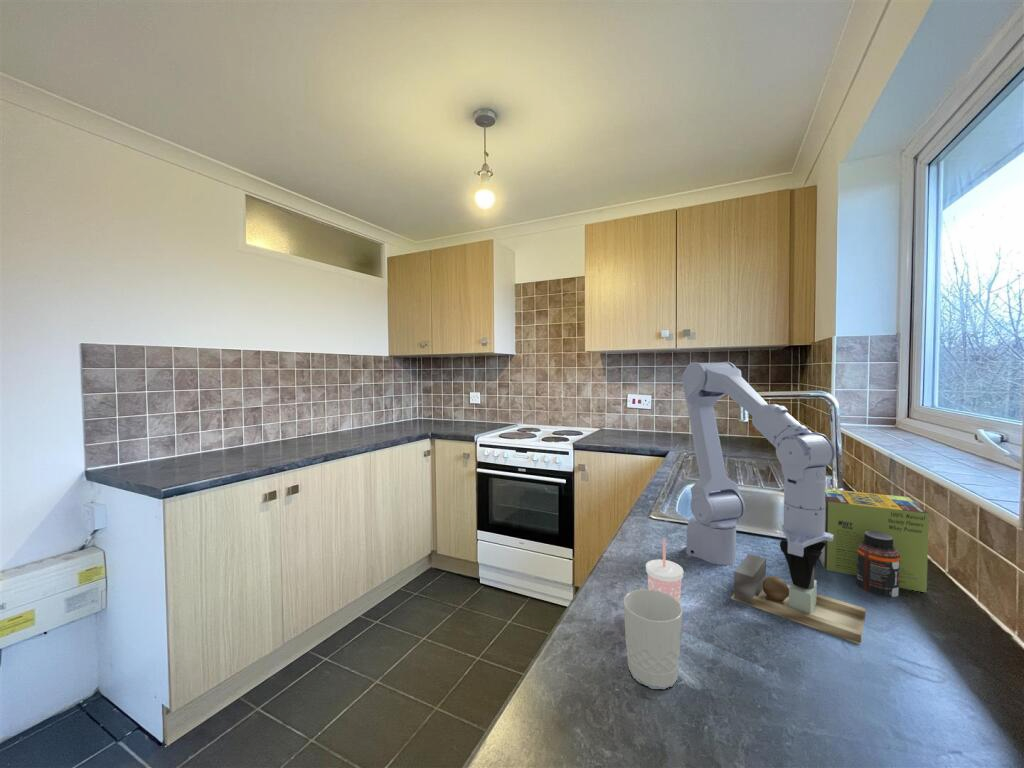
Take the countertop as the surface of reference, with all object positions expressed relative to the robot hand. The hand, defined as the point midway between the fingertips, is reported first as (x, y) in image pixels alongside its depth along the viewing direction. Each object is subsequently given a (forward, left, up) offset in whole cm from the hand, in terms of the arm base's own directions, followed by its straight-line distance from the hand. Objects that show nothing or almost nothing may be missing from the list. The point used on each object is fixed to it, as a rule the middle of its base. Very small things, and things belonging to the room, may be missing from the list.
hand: (802, 581), depth 70 cm
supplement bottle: (+9, +17, -6) cm, 20 cm away
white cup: (-13, -30, -6) cm, 33 cm away
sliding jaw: (0, 0, -4) cm, 4 cm away
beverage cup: (-17, -17, -6) cm, 25 cm away
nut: (-4, 0, -5) cm, 6 cm away
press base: (-1, 0, -6) cm, 6 cm away
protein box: (+7, +26, -6) cm, 28 cm away
